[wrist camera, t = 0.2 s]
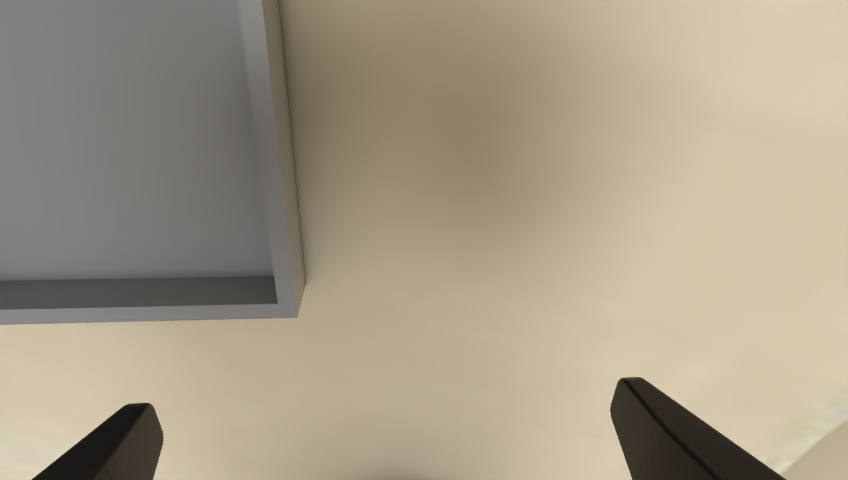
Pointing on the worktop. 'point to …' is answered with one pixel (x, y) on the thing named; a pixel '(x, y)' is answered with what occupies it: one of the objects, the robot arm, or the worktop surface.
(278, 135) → the tray
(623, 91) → the worktop surface
